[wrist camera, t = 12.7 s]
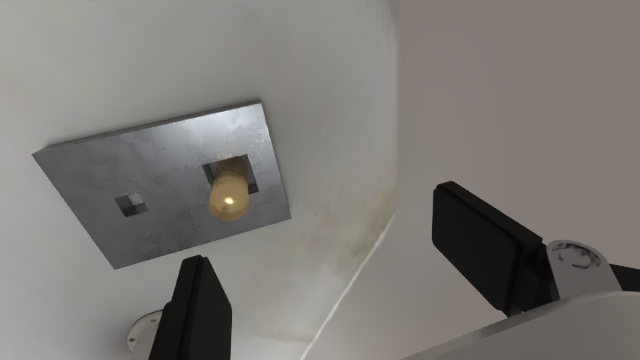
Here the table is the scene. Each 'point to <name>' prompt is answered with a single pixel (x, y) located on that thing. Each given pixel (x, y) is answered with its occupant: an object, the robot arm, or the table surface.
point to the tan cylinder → (229, 190)
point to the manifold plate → (165, 182)
